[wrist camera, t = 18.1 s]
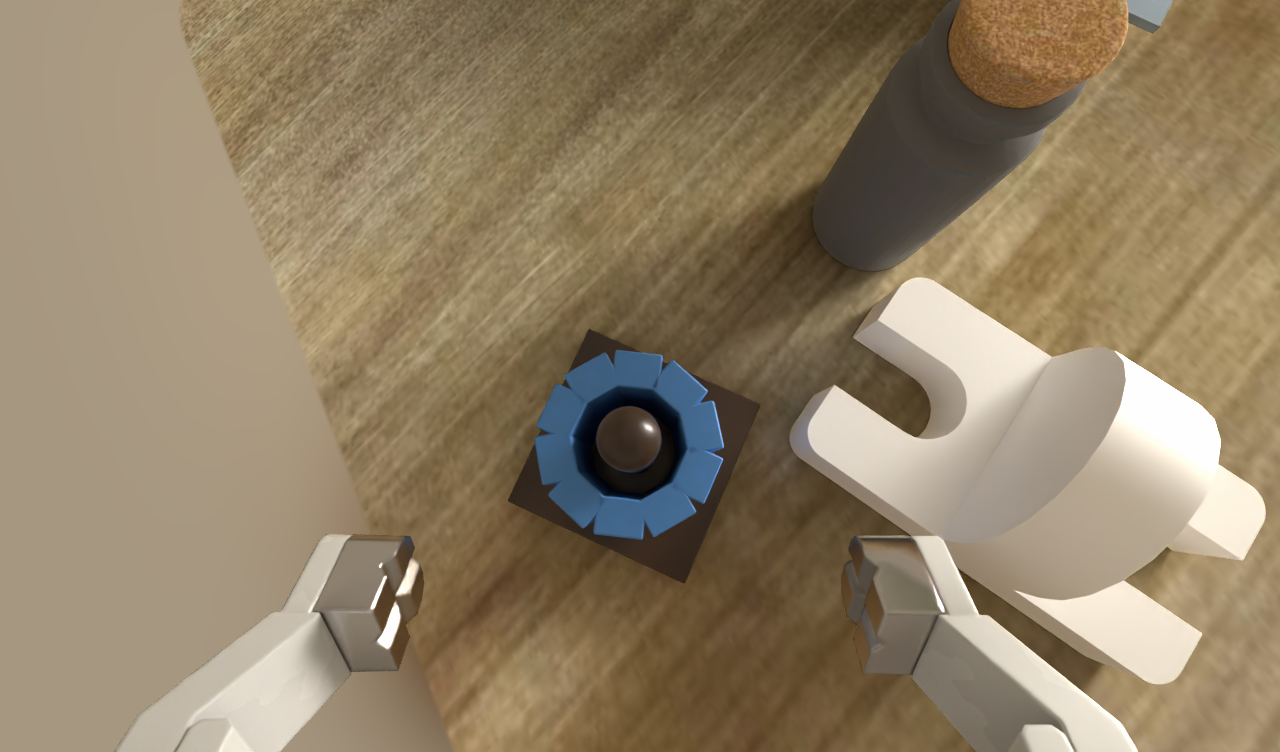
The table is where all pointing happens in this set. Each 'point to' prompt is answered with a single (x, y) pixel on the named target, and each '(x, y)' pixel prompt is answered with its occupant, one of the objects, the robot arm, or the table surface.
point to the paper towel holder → (643, 469)
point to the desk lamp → (1147, 13)
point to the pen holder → (576, 428)
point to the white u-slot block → (1039, 473)
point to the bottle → (959, 120)
